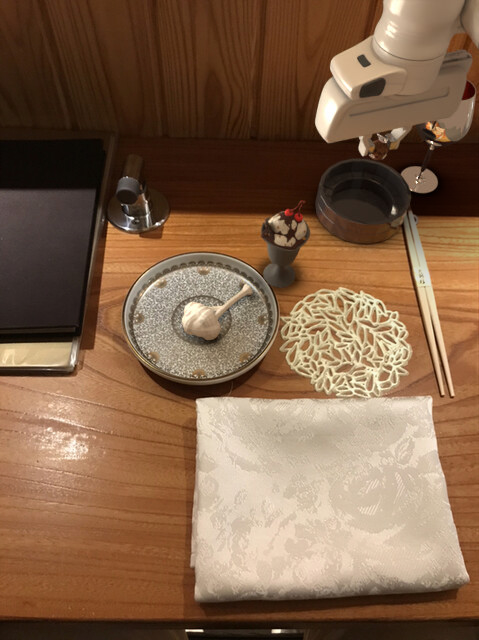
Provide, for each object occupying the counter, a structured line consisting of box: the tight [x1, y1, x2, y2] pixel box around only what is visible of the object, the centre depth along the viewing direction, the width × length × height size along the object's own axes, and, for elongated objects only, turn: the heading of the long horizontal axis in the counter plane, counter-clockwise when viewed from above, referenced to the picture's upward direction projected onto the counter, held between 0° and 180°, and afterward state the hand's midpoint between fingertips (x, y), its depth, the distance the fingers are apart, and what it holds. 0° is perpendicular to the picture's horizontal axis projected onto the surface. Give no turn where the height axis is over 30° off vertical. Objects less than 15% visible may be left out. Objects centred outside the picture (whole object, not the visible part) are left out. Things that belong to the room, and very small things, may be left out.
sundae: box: [260, 200, 311, 289], centre depth 78 cm, size 7×7×15 cm
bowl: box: [314, 158, 412, 244], centre depth 90 cm, size 14×14×5 cm
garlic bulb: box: [181, 283, 254, 341], centre depth 79 cm, size 7×5×12 cm
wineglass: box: [400, 79, 477, 194], centre depth 89 cm, size 8×8×18 cm
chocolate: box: [368, 133, 389, 161], centre depth 81 cm, size 3×2×4 cm
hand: (377, 149), depth 81 cm, fingers closed on chocolate, 2 cm apart
